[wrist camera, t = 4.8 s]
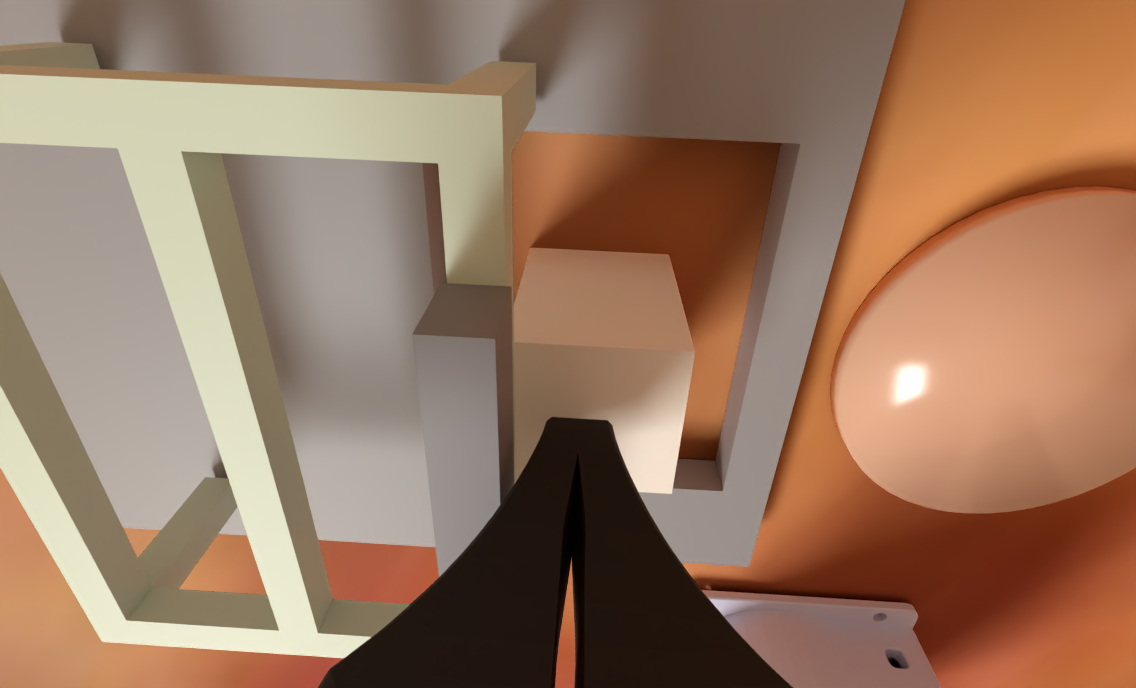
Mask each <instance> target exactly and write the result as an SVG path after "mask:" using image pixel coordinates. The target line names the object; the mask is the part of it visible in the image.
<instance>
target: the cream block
mask: <svg viewBox="0 0 1136 688" xmlns="http://www.w3.org/2000/svg"><path fill="white" fill-rule="evenodd" d="M694 356H695V349H694V345H693V342H692V338H691V334H690V331H689V327H688V323H687V319H686V316H685V312H684V308H683V304H682V301H681V297H680V293H679V290H678V286H677V282H676V278H675V275H674V271H673V267H672V264H671V260H670V256H669V254H652V253H632V252H611V251H591V250H571V249H551V248H531V247H530V250H529V253H528V257H527V260H526V264H525V268H524V271H523V275H522V278H521V282H520V285H519V289H518V292H517V296H516V299H515V303H514V370H515V450H516V481H517V479H518V478H519V476H520V474H521V473H522V471H523V469H524V468H525V466H526V464H527V463H528V461H529V459H530V457H531V455H532V453H533V452H534V450H535V448H536V446H537V444H538V442H539V439H540V437H541V435H542V432H543V430H544V427H545V424H546V421H547V420H548V419H550V418H551V417H563V418H579V419H596V420H608V421H609V422H610V423H611V424H612V425H613V430H614V434H615V438H616V441H617V444H618V447H619V450H620V452H621V455H622V457H623V460H624V462H625V465H626V467H627V469H628V471H629V474H630V476H631V478H632V480H633V482H634V484H635V486H636V488H637V490H638V492H646V493H663V494H672V490H673V484H674V478H675V472H676V466H677V459H678V453H679V447H680V441H681V435H682V429H683V423H684V417H685V411H686V405H687V399H688V393H689V387H690V381H691V375H692V369H693V363H694Z"/></svg>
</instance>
